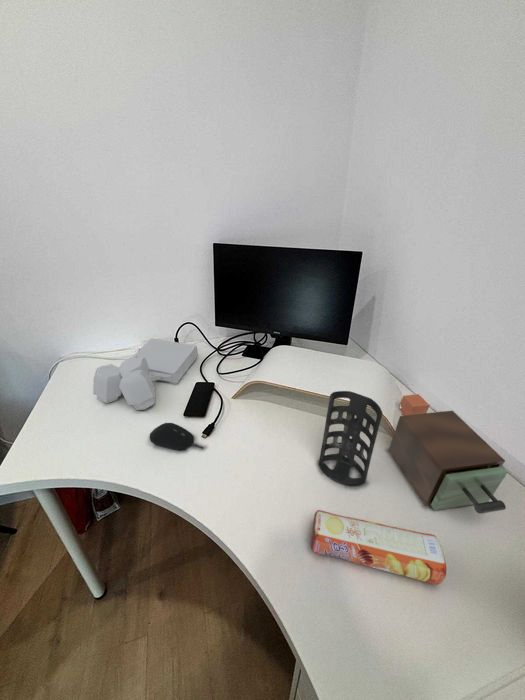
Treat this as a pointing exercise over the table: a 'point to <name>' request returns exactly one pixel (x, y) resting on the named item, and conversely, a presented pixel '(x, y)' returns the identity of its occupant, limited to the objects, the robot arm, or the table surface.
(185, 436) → the gaming mouse
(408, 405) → the block
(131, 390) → the game console
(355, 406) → the holder
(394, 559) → the snack package
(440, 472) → the cabinet
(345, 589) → the table surface
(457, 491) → the drawer
